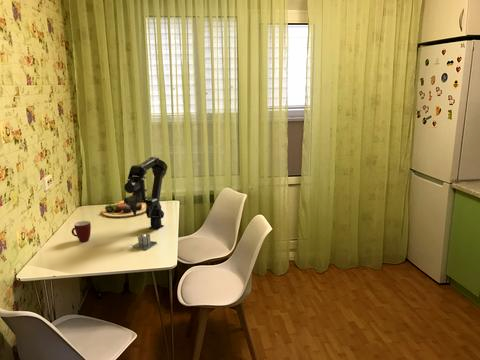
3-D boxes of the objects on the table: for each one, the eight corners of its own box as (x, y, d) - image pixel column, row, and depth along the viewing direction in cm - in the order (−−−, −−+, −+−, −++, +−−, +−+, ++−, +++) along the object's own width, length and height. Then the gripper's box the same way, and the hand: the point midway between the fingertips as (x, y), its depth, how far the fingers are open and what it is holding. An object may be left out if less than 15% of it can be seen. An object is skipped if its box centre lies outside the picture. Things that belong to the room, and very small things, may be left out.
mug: (69, 244, 210) (67, 226, 208) (75, 238, 218) (73, 221, 216) (89, 243, 210) (87, 225, 208) (94, 237, 218) (92, 220, 216)
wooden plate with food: (125, 202, 288) (124, 191, 286) (160, 207, 273) (159, 195, 271) (91, 216, 260) (89, 204, 258) (127, 221, 246) (126, 209, 244)
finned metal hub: (143, 241, 211) (142, 231, 209) (157, 243, 207) (156, 233, 206) (132, 247, 203) (131, 236, 201) (146, 250, 199) (145, 239, 198)
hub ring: (143, 241, 209) (142, 233, 208) (152, 242, 206) (152, 234, 205) (136, 245, 203) (135, 237, 202) (145, 246, 201) (145, 238, 200)
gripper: (115, 190, 208) (118, 218, 212) (144, 193, 201) (147, 222, 205) (129, 185, 218) (131, 212, 222) (157, 188, 211) (159, 216, 215)
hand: (142, 216), depth 216 cm, fingers open, 9 cm apart
